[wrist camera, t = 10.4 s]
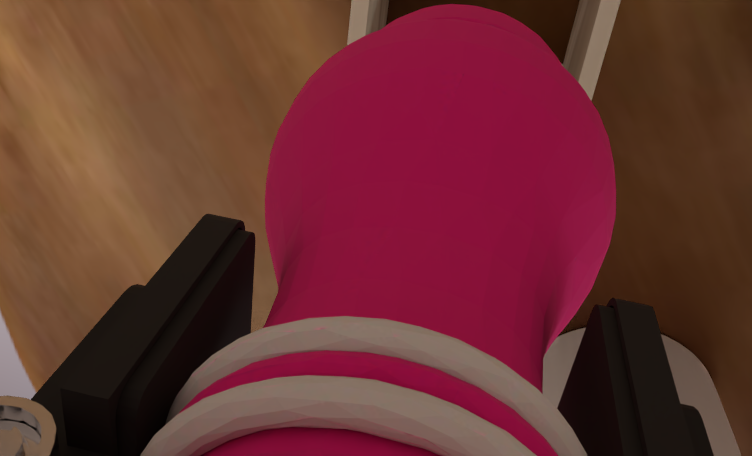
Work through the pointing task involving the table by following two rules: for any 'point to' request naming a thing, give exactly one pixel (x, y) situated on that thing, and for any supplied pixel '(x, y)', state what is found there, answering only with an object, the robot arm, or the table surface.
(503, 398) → the pepper mill
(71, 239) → the table surface
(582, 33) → the crate
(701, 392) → the utensil holder
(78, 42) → the table surface
